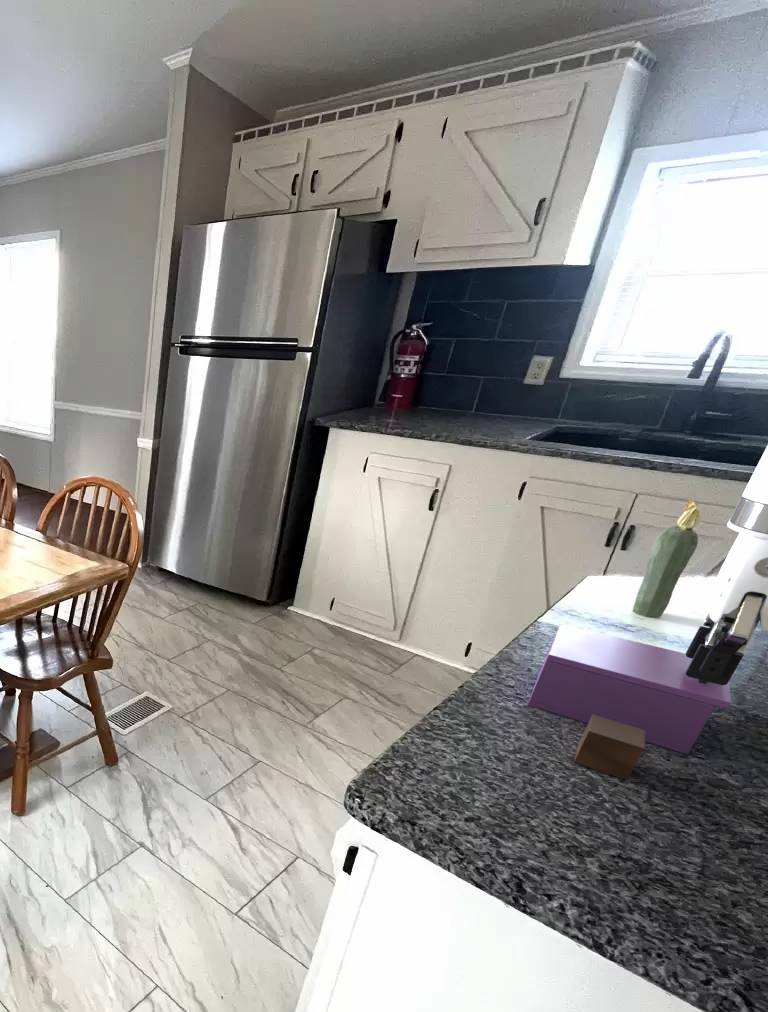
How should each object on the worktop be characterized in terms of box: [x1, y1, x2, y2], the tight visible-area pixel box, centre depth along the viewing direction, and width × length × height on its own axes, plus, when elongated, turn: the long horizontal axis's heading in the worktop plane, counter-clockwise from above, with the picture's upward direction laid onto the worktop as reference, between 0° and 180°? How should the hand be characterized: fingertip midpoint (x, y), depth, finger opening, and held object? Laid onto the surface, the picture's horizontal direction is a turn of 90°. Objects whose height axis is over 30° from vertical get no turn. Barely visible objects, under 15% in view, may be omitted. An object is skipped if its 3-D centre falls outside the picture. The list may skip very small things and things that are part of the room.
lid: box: [546, 623, 732, 709], centre depth 76 cm, size 15×11×6 cm
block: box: [573, 714, 646, 781], centre depth 71 cm, size 4×4×4 cm
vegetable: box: [632, 499, 702, 619], centre depth 96 cm, size 4×4×20 cm
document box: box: [526, 631, 716, 755], centre depth 79 cm, size 14×11×7 cm
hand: (705, 668), depth 73 cm, fingers closed on lid, 5 cm apart
